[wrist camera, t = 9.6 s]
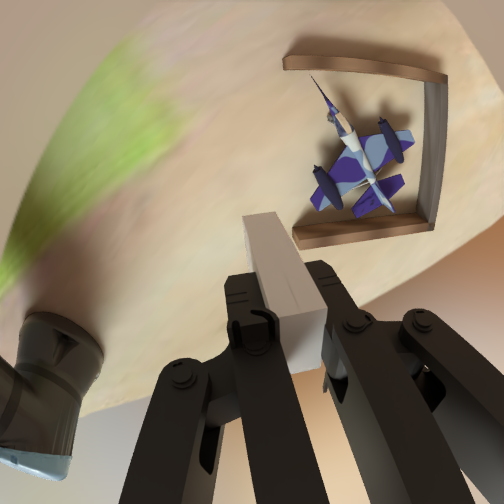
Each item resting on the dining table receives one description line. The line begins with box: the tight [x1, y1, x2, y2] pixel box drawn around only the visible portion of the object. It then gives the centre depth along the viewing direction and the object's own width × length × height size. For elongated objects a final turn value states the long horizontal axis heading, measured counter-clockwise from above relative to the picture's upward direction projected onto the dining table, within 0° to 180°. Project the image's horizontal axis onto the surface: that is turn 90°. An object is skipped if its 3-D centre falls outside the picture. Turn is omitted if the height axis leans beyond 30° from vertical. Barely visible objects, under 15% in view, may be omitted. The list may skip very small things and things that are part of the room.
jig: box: [282, 55, 448, 250], centre depth 27 cm, size 18×19×3 cm
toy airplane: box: [310, 76, 415, 218], centre depth 27 cm, size 13×14×4 cm
